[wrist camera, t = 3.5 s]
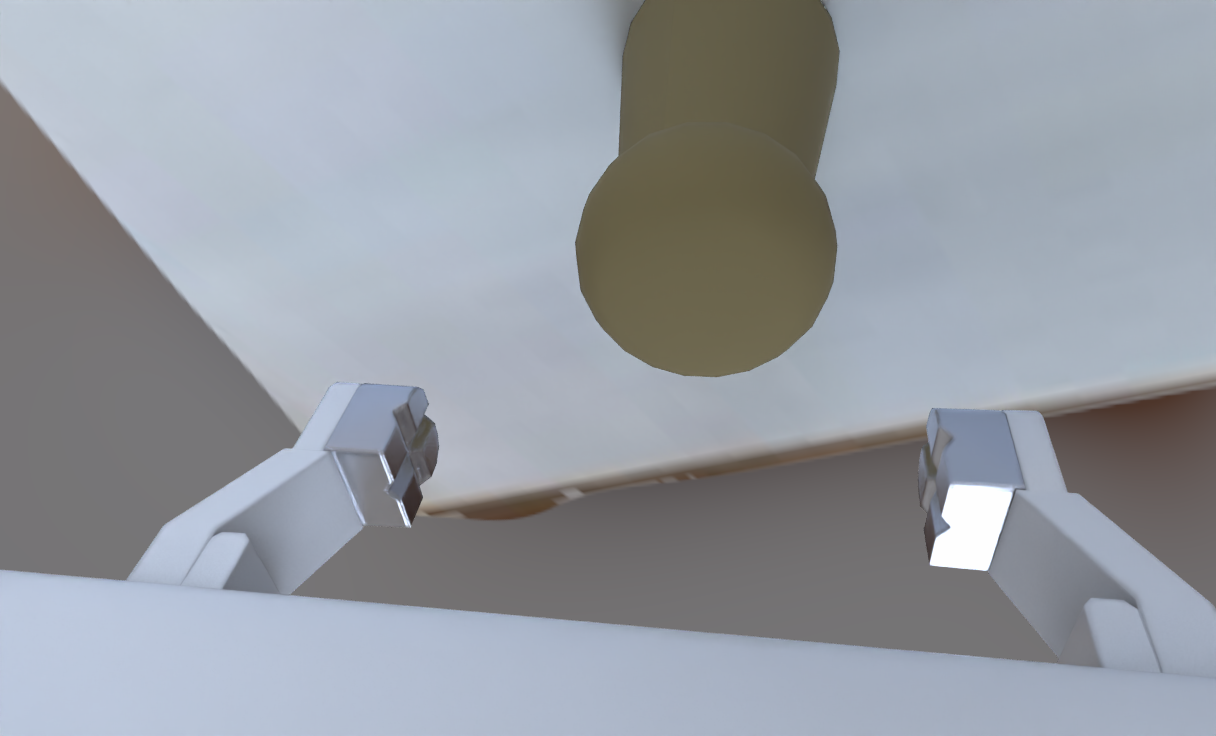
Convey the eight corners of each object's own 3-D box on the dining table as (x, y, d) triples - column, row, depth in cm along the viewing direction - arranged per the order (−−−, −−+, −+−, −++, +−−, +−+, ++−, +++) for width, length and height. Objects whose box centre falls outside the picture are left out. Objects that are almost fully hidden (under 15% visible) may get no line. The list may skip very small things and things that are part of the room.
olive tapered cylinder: (846, 151, 25) (872, 412, 17) (646, 179, 27) (584, 429, 19) (831, -67, 21) (855, 135, 13) (600, -19, 23) (497, 186, 15)
